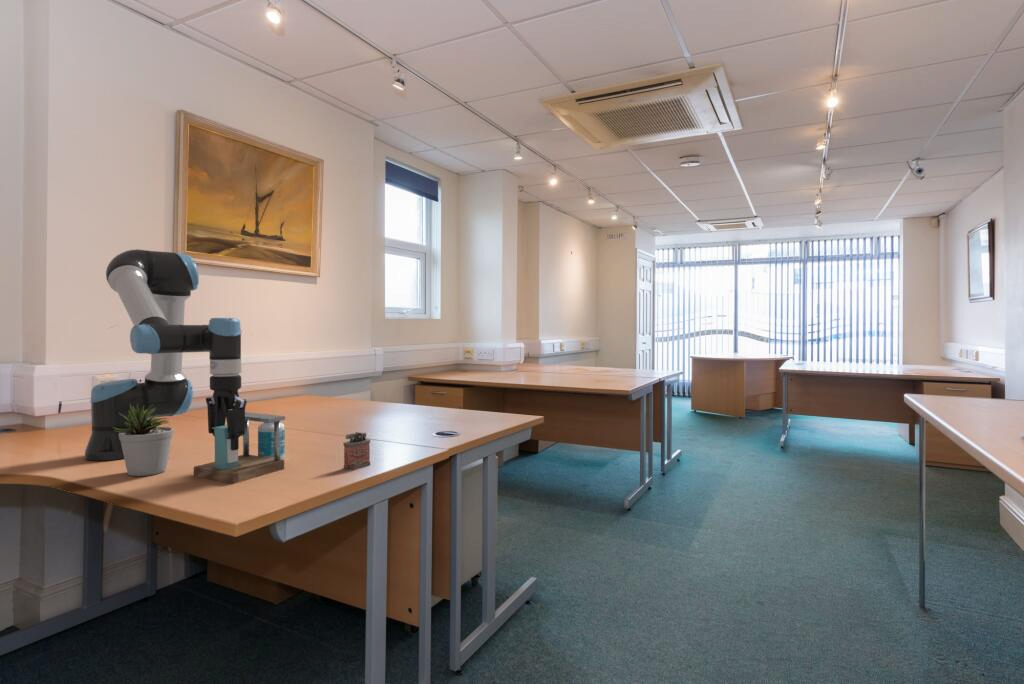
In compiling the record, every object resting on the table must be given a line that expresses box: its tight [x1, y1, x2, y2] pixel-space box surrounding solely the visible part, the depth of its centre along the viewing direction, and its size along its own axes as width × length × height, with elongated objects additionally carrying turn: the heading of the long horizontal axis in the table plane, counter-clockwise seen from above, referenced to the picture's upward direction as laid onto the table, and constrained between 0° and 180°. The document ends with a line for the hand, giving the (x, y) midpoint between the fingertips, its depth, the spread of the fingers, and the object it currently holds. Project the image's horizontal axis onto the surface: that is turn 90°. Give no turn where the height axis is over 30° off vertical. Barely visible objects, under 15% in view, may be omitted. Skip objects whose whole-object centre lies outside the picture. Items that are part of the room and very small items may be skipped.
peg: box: [214, 424, 238, 470], centre depth 145 cm, size 4×4×12 cm
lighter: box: [343, 431, 371, 471], centre depth 155 cm, size 8×3×10 cm, turn 134°
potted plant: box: [113, 404, 174, 477], centre depth 148 cm, size 13×14×20 cm
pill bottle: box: [257, 422, 286, 460], centre depth 162 cm, size 8×7×14 cm
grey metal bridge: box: [242, 411, 286, 461], centre depth 154 cm, size 16×6×15 cm, turn 64°
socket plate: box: [193, 454, 285, 484], centre depth 149 cm, size 16×16×2 cm
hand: (226, 460), depth 145 cm, fingers closed on peg, 4 cm apart
